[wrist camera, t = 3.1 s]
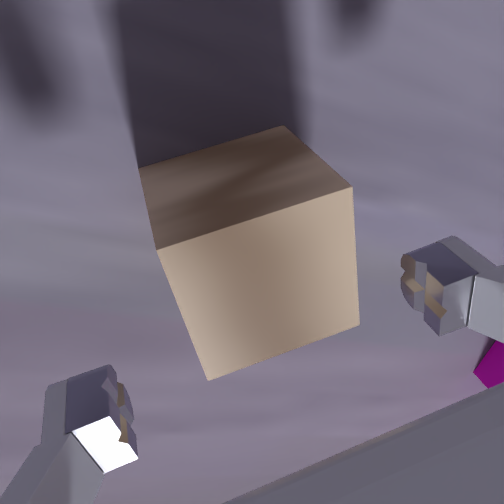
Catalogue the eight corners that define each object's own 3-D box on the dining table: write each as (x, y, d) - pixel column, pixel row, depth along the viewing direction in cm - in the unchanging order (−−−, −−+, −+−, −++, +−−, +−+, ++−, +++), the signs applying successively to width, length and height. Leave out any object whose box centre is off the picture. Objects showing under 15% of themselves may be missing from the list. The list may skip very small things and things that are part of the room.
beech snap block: (282, 124, 15) (352, 186, 11) (299, 242, 18) (359, 324, 14) (138, 167, 14) (156, 250, 10) (181, 282, 17) (207, 381, 13)
